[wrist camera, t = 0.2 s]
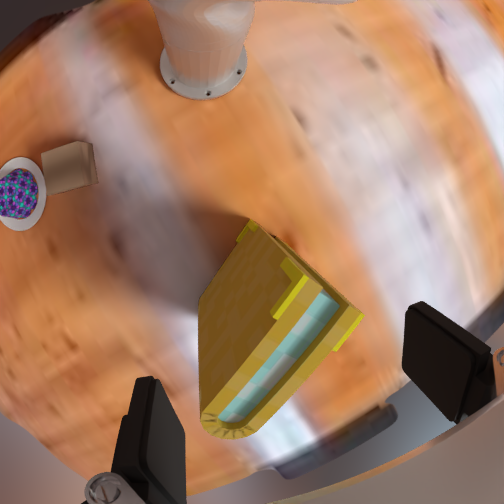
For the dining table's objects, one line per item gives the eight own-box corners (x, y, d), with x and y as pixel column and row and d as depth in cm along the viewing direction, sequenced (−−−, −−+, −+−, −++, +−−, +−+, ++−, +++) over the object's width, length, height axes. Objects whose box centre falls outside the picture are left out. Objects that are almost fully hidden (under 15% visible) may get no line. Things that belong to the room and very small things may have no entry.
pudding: (47, 152, 38) (31, 151, 33) (51, 228, 41) (35, 235, 36) (-6, 162, 36) (-23, 163, 31) (-2, 231, 39) (-18, 238, 34)
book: (250, 218, 45) (304, 274, 22) (286, 243, 47) (364, 315, 23) (189, 308, 48) (184, 425, 24) (224, 328, 49) (246, 446, 26)
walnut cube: (58, 154, 38) (40, 153, 32) (92, 144, 39) (77, 140, 33) (64, 192, 40) (47, 196, 34) (98, 182, 40) (83, 185, 35)
